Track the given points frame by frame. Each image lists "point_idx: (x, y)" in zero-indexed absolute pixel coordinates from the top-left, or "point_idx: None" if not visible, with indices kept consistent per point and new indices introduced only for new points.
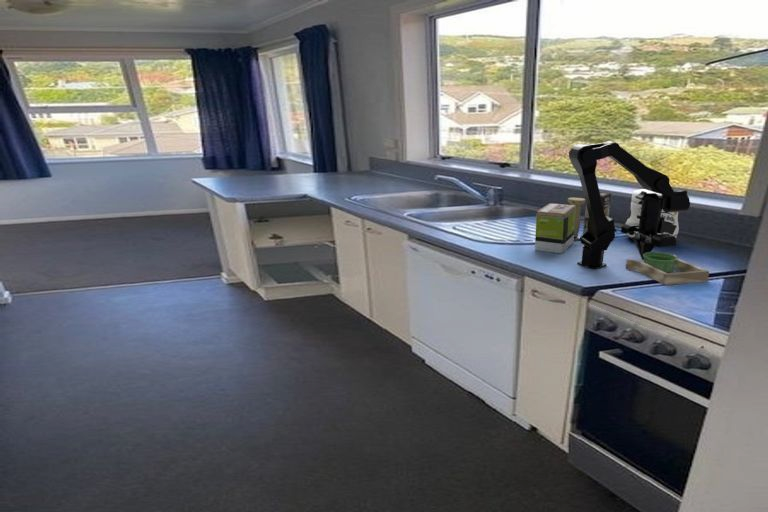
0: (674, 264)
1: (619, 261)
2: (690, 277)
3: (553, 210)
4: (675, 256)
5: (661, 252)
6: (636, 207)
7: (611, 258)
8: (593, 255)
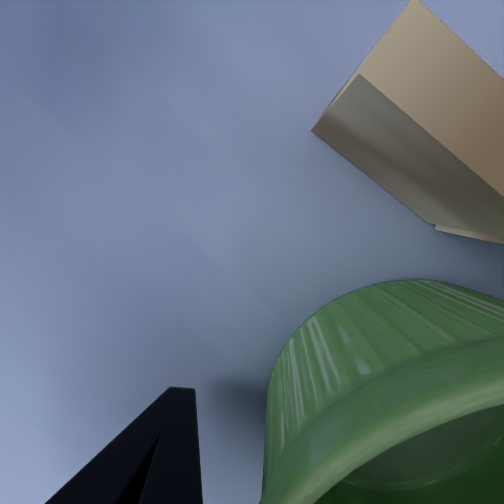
0: (489, 239)
1: None
2: None
3: None
4: (486, 106)
5: (384, 450)
6: None
7: (22, 498)
8: None
